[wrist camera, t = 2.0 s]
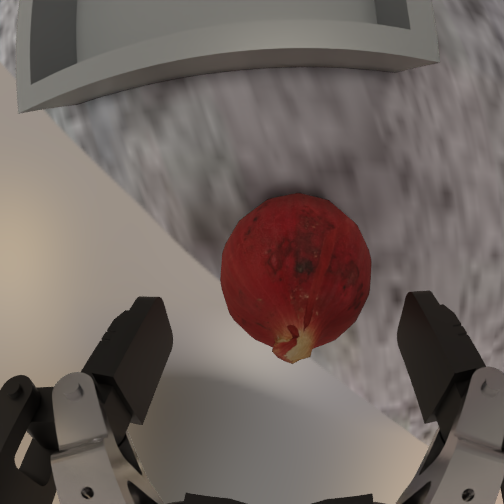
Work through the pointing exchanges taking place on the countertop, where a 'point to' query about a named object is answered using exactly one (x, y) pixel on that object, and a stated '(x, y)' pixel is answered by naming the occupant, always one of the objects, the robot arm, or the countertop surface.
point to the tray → (206, 41)
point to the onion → (295, 274)
